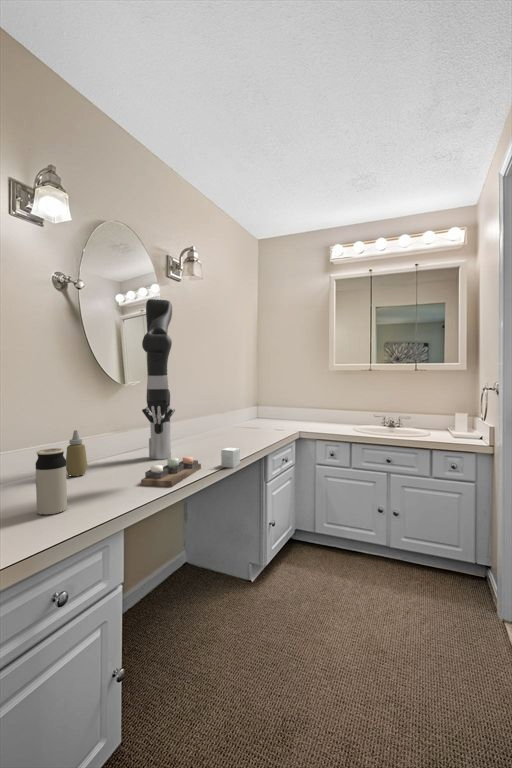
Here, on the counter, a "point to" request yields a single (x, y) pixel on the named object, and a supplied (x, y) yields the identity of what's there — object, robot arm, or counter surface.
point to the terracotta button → (188, 460)
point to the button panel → (170, 474)
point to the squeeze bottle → (76, 456)
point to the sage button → (173, 462)
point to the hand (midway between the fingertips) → (158, 433)
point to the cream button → (157, 468)
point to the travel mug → (51, 481)
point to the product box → (230, 457)
